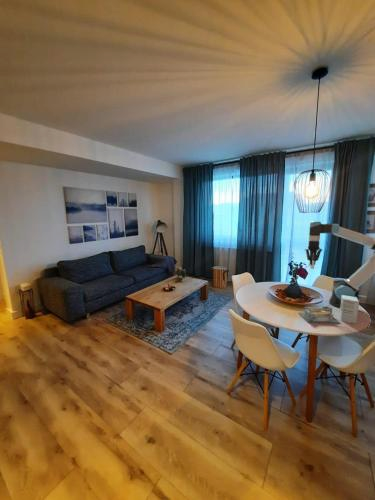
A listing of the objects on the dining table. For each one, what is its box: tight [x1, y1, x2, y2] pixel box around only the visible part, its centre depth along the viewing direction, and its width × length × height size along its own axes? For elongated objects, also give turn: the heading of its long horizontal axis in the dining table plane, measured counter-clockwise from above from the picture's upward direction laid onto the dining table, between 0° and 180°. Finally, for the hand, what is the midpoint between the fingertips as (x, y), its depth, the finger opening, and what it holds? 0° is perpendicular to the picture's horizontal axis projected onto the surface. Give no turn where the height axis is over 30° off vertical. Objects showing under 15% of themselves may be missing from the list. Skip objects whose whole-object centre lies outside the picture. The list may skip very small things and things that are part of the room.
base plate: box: [297, 304, 341, 324], centre depth 153 cm, size 22×15×7 cm
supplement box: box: [339, 295, 360, 325], centre depth 150 cm, size 10×9×17 cm
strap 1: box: [306, 306, 326, 312], centre depth 157 cm, size 15×3×1 cm, turn 86°
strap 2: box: [312, 311, 331, 316], centre depth 149 cm, size 15×3×1 cm, turn 86°
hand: (312, 268), depth 172 cm, fingers closed
